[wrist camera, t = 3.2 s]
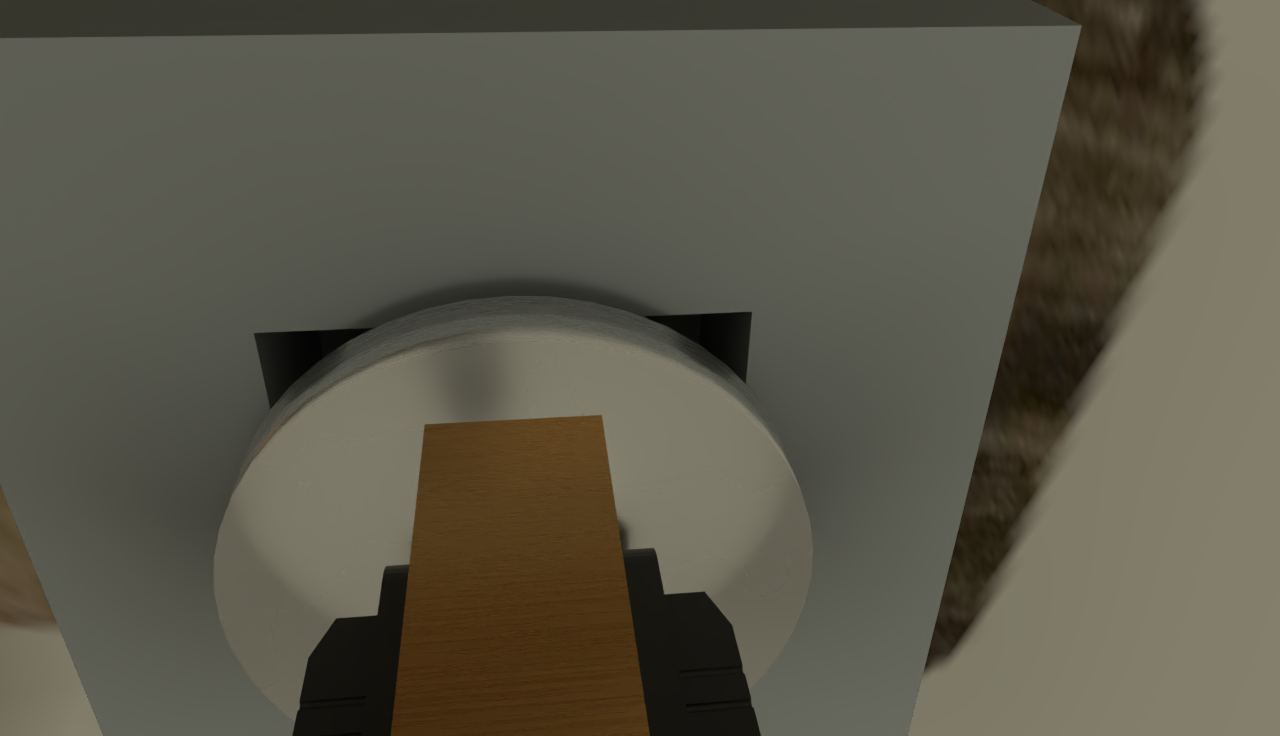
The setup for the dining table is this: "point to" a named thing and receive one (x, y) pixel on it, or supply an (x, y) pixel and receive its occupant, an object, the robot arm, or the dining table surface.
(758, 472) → the end cover
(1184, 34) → the dining table surface
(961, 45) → the bearing housing
